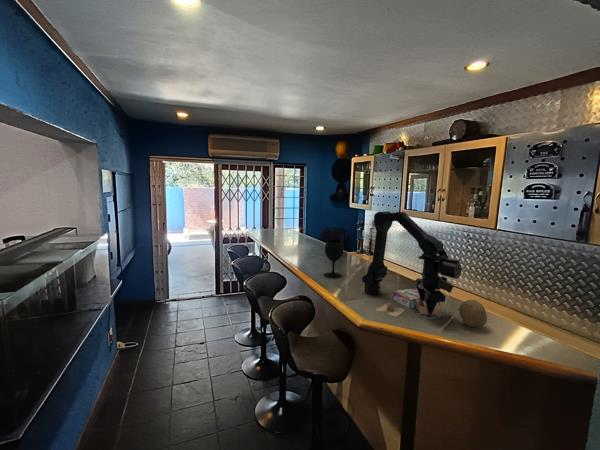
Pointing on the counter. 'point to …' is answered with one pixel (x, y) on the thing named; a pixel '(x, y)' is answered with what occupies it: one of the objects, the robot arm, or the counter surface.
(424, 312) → the wooden square frame
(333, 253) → the wine glass
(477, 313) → the natural sponge
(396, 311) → the stand
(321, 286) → the counter surface
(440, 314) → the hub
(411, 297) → the candy bar box
